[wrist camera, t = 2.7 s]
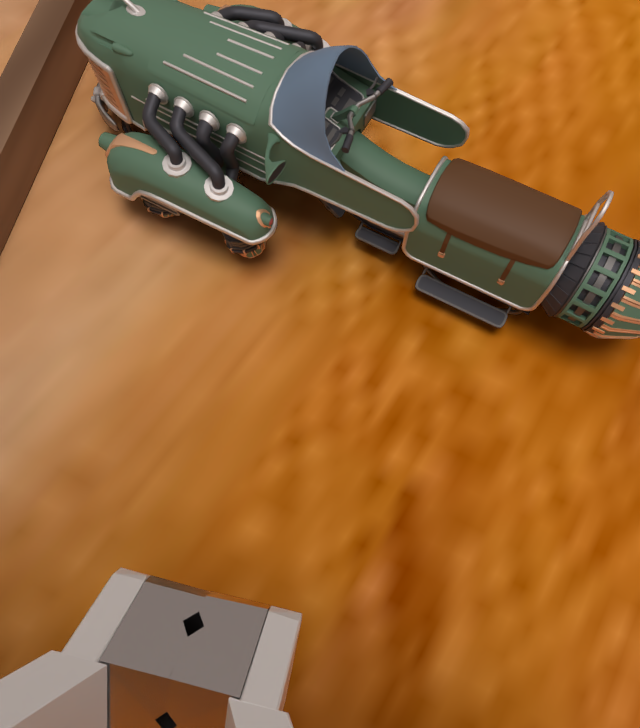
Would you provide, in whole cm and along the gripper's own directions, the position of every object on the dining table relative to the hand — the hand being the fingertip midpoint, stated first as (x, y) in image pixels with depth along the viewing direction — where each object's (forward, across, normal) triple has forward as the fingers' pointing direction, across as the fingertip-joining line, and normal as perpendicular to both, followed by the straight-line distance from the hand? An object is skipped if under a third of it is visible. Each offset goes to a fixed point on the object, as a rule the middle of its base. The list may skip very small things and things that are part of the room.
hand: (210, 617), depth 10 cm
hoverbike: (+20, 0, -2) cm, 20 cm away
